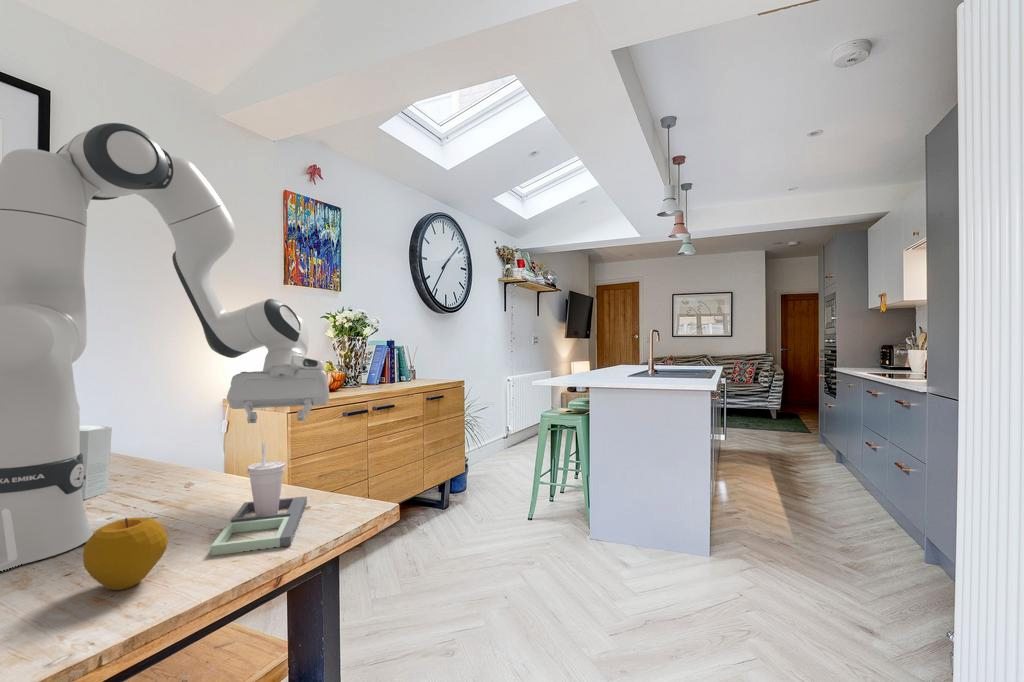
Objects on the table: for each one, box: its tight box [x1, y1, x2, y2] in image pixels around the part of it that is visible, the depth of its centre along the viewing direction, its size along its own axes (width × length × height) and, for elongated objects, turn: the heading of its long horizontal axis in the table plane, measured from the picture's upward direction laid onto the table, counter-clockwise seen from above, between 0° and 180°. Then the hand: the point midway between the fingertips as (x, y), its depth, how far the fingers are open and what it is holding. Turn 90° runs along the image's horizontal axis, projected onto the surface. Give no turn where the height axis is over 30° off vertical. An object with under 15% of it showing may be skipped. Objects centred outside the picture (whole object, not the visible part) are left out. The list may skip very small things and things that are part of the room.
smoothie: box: [246, 441, 286, 516], centre depth 88 cm, size 6×6×14 cm
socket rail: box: [210, 496, 308, 557], centre depth 83 cm, size 11×21×2 cm, turn 17°
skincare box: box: [80, 425, 113, 501], centre depth 101 cm, size 8×6×15 cm
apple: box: [82, 517, 169, 591], centre depth 63 cm, size 9×9×9 cm
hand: (276, 420), depth 98 cm, fingers open, 8 cm apart
